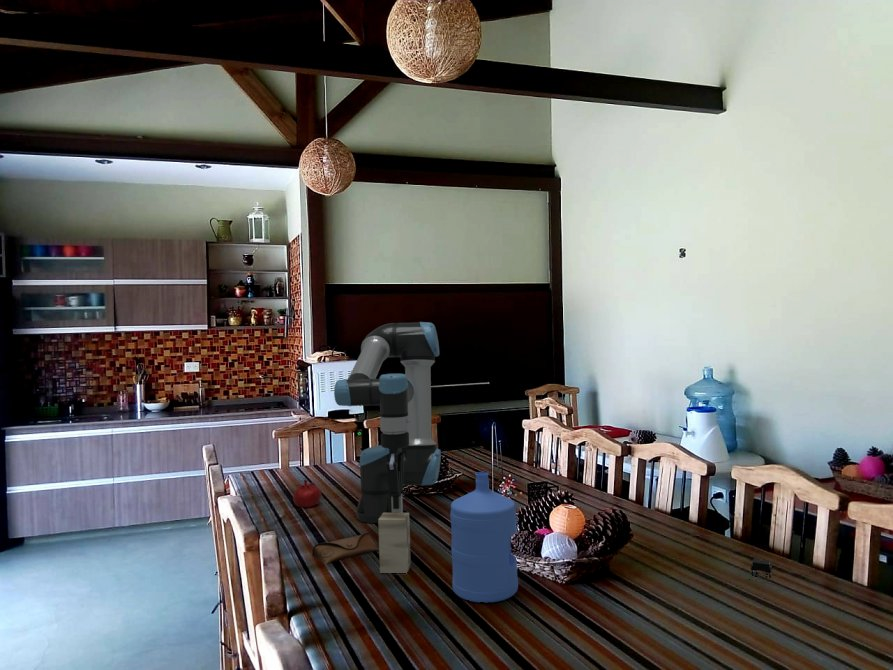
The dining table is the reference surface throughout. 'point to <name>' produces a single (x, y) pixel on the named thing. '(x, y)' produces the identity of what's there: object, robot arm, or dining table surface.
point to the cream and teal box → (394, 543)
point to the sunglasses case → (344, 548)
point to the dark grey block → (761, 567)
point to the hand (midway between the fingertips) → (397, 519)
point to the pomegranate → (307, 495)
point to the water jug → (483, 544)
